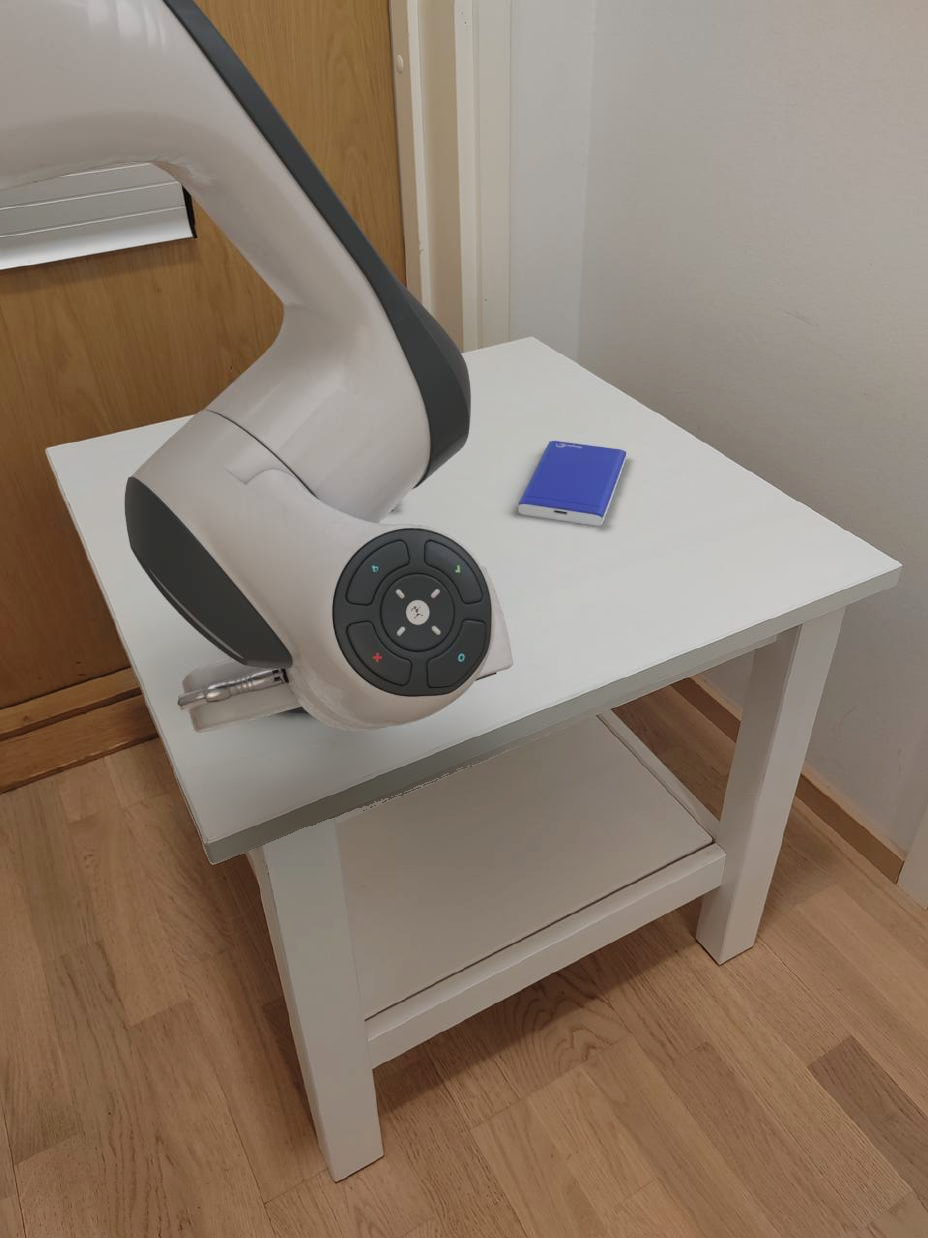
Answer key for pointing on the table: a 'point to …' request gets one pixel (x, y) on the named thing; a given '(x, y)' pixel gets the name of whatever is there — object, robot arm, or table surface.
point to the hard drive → (573, 483)
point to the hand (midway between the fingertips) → (334, 672)
